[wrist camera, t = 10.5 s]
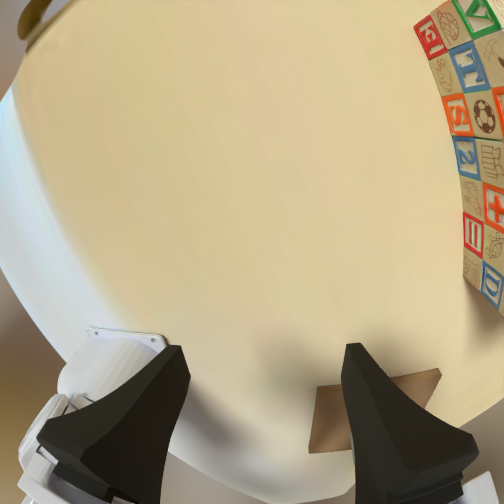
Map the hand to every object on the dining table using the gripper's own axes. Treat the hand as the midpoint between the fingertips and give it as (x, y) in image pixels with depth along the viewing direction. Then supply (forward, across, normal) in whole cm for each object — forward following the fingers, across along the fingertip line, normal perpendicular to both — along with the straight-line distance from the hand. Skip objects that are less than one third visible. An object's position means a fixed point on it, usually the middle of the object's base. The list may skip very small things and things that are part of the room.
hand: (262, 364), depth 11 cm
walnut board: (+9, -11, +20) cm, 25 cm away
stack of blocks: (+10, -18, -9) cm, 22 cm away
